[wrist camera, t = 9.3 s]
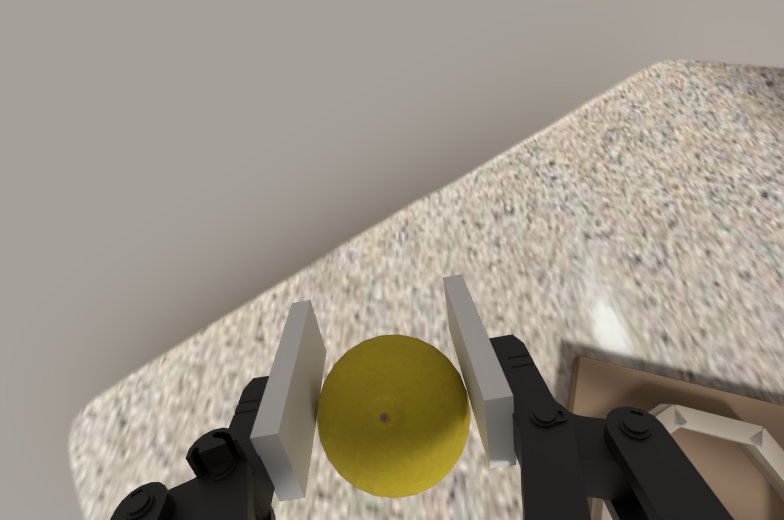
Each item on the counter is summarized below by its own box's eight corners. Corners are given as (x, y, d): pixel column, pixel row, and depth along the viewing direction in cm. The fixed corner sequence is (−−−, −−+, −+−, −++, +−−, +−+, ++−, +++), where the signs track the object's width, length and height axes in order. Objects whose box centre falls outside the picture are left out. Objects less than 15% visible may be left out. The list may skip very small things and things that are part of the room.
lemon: (327, 451, 19) (258, 492, 11) (362, 333, 20) (323, 298, 12) (445, 489, 18) (459, 563, 10) (472, 363, 19) (502, 345, 12)
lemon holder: (574, 357, 29) (588, 353, 27) (820, 418, 27) (861, 421, 24) (541, 615, 25) (554, 641, 22) (833, 715, 23) (885, 756, 20)
